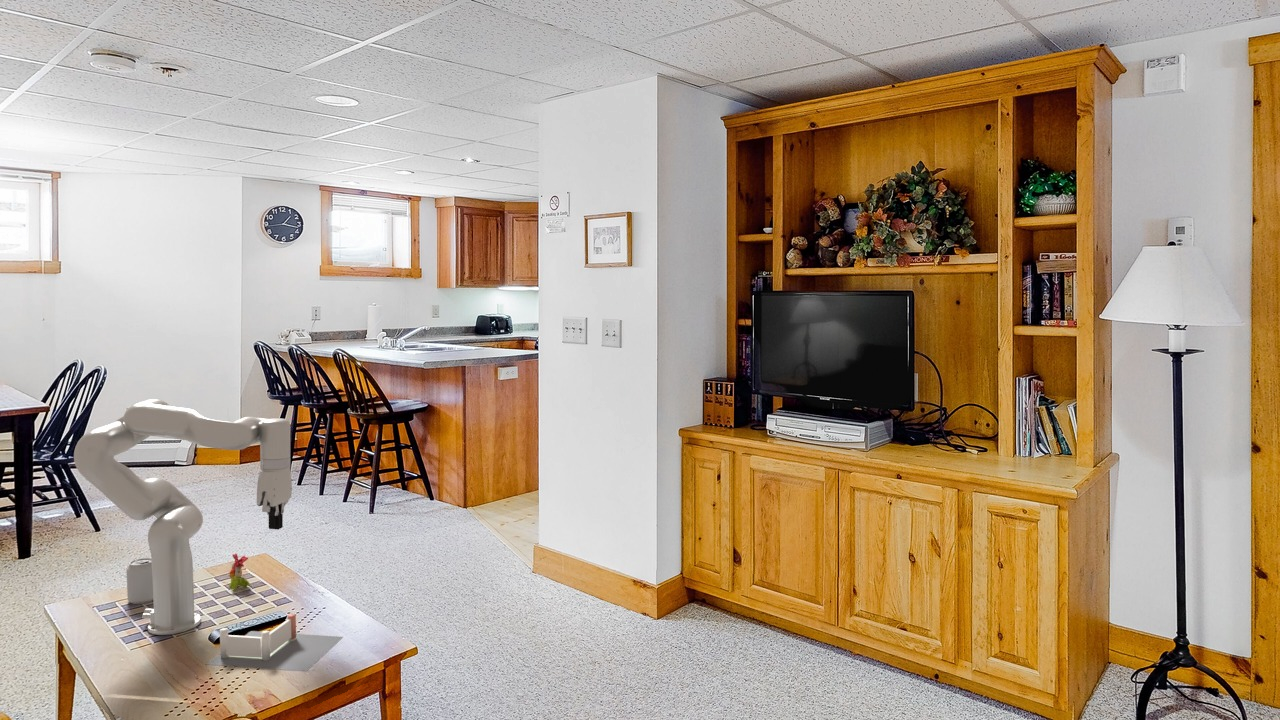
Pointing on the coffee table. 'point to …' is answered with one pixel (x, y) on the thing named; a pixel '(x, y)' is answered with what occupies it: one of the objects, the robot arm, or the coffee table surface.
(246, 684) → the coffee table surface
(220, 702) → the coffee table surface
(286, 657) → the card
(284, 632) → the fence swing section
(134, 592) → the can
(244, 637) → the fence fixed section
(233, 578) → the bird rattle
